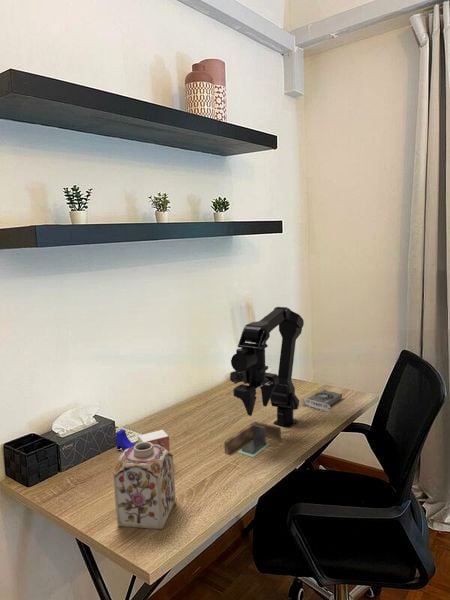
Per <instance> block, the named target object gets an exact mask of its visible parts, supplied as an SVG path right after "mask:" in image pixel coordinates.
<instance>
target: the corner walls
mask: <svg viewBox="0 0 450 600" xmlns="http://www.w3.org/2000/svg"><path fill="white" fill-rule="evenodd" d="M254 424H257V425H261V426H265V427H266V438H267V439H268V438H269V439H273V440H276V441H281V440H282V431H281V429H282V428H281V427H279V426H275V425H271V424H267V423H262V422H258V421H254V422H252V423H250V424H249V425H247V426H245V427H243V428H242V429H241V430H239V431H238V432H236V433H235V434H233V435H232V436H230V437H229V438H227V439H225V440H224V454H226V455H229V454H230V453H232V452H233V451H235V450H237V448H239V447H241V446H242V445H244V444H245V443H246V442H248V441H250V440H251V439H253V425H254Z"/></svg>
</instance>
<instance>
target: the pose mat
mask: <svg viewBox="0 0 450 600" xmlns="http://www.w3.org/2000/svg"><path fill="white" fill-rule="evenodd" d="M270 446H271V445H270V443H267V442H266V445H264V446H263V447H262V448H260V449H259V450H258V451H256V452H255V453H254V454H250V453H246V452H243V451H242V448H241V449H239V450H238V451H236V454H238V455H239V454H240V455H243V456H246V457H248V458H249V457H250V458H252V459H254V458H255V457H256V456H258V455H260V453H261V452H263V451H264V450H265V449H267V448H268V447H270Z"/></svg>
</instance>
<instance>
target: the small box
mask: <svg viewBox="0 0 450 600" xmlns="http://www.w3.org/2000/svg"><path fill="white" fill-rule="evenodd" d="M141 442H150V443H152V444H156V445H160V446H162V447H164V448H165V449H167V450H168V451H169V452H170V436H169V435H168V434H167V433H166V432H165V431H164V429H160V430H156V431H153V432H152V431H151V432H148V433H143V434H138V435H137V444H138V443H141ZM170 453H171V452H170Z"/></svg>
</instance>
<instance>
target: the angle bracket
mask: <svg viewBox="0 0 450 600" xmlns="http://www.w3.org/2000/svg"><path fill="white" fill-rule="evenodd" d="M252 439H253V440H250V442H248V443H247V444H246V445H244V446H242V447H241V449H242V451H243V452H246V453H250V454H254V453H255V452H256V451H258V450H259V449H260V448H262V447H263V446H264V445H266V443H267V437H266V427H265V426H261V425H257V424H254V425H253V437H252Z"/></svg>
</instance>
